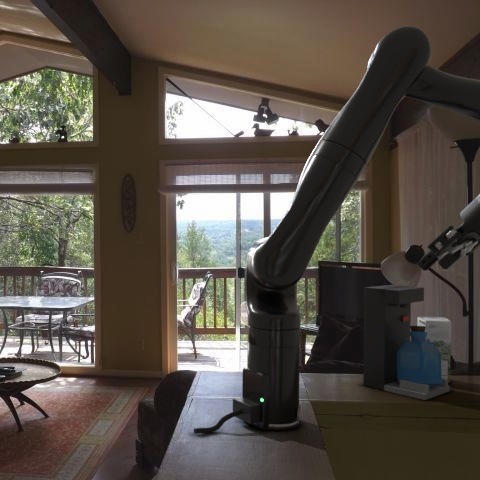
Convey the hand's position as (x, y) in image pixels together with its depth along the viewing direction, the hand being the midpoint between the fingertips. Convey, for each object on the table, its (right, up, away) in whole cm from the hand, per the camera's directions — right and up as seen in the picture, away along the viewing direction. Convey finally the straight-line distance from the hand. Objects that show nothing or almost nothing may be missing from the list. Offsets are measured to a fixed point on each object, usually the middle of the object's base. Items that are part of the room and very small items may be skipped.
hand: (431, 266), depth 116 cm
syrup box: (+9, -27, +18) cm, 34 cm away
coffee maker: (-1, -27, +11) cm, 29 cm away
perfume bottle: (+1, -25, +8) cm, 27 cm away
